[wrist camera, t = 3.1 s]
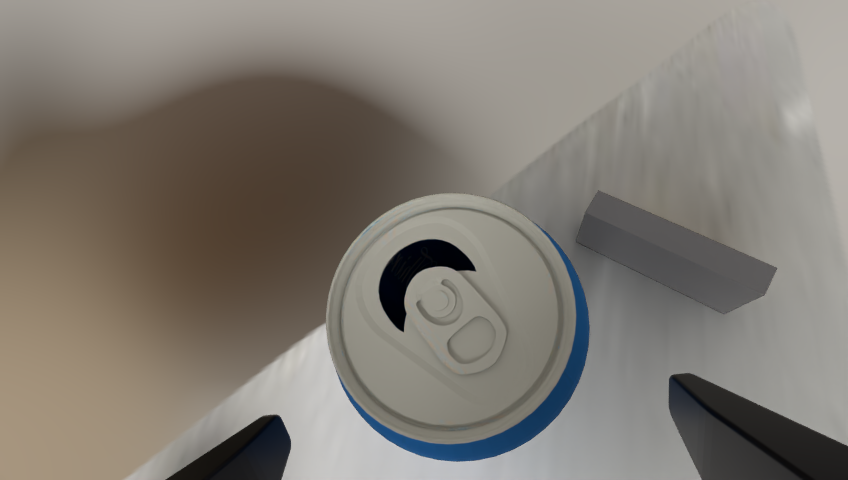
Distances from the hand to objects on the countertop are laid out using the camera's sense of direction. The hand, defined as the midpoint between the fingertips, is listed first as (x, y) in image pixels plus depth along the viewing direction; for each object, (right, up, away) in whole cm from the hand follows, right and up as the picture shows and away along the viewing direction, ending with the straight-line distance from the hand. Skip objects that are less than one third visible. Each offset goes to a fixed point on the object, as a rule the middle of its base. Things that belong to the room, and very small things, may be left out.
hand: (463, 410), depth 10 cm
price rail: (+10, +3, +11) cm, 15 cm away
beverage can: (+2, -2, +11) cm, 11 cm away
